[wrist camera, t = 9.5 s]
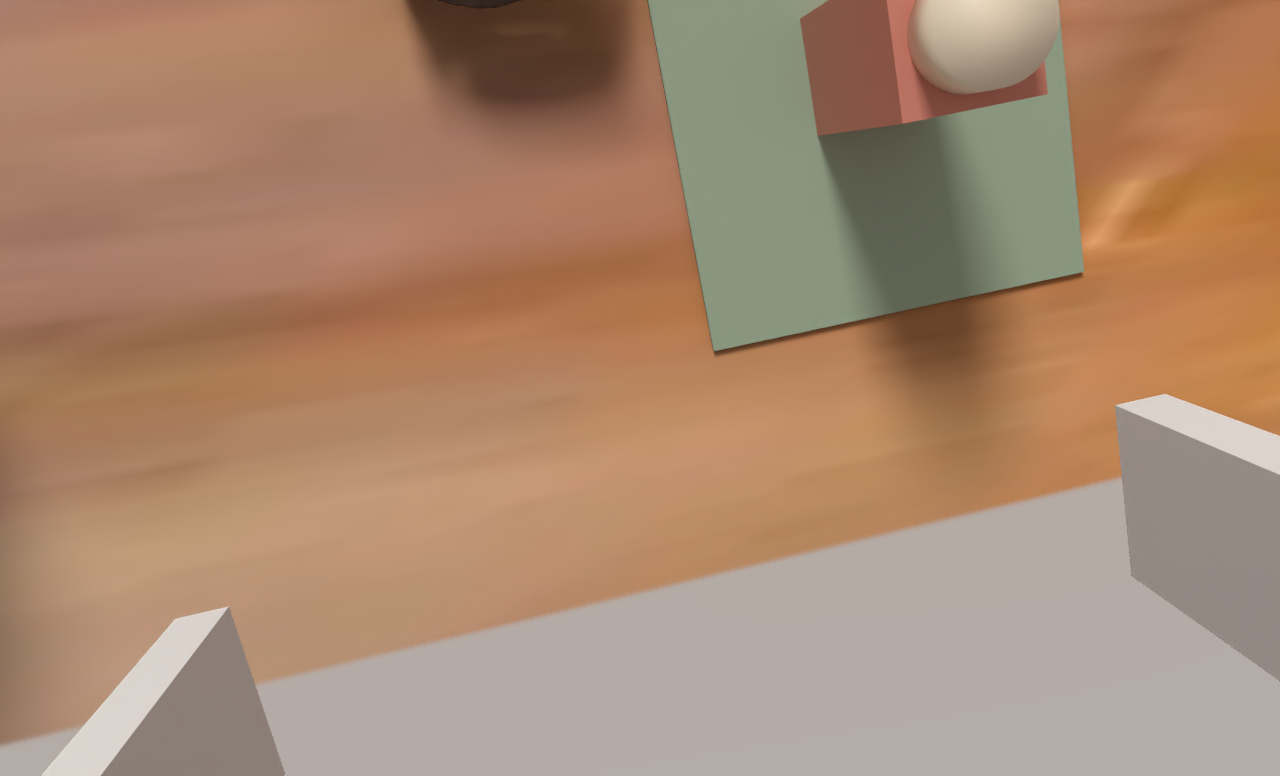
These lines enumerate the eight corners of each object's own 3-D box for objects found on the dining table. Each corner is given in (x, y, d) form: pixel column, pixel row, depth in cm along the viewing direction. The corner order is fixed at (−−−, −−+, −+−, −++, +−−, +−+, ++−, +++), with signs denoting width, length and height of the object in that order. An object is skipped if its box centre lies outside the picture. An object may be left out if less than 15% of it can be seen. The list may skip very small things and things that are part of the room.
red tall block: (817, 135, 39) (927, 120, 27) (800, 18, 38) (905, -50, 26) (926, 113, 39) (1082, 88, 27) (912, -4, 38) (1067, -83, 26)
